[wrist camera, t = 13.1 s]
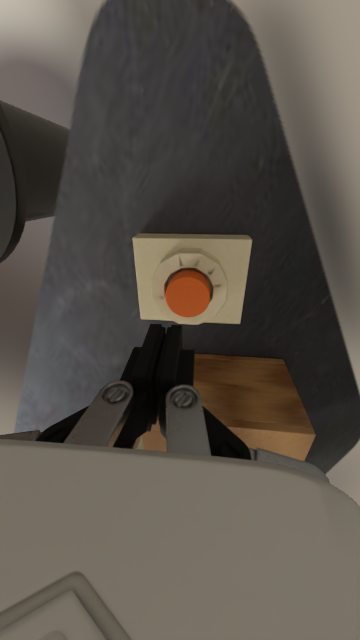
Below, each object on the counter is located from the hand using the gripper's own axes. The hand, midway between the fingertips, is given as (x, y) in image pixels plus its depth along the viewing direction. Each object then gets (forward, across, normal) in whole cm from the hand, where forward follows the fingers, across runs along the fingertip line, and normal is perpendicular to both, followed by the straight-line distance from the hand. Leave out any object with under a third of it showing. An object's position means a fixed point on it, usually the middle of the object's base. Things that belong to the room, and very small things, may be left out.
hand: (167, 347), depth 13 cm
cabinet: (+12, -4, +16) cm, 21 cm away
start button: (+9, -1, 0) cm, 9 cm away
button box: (+12, -1, 0) cm, 12 cm away
